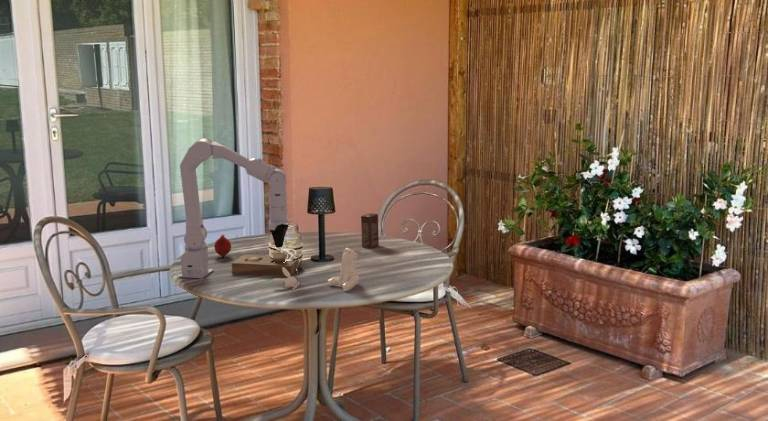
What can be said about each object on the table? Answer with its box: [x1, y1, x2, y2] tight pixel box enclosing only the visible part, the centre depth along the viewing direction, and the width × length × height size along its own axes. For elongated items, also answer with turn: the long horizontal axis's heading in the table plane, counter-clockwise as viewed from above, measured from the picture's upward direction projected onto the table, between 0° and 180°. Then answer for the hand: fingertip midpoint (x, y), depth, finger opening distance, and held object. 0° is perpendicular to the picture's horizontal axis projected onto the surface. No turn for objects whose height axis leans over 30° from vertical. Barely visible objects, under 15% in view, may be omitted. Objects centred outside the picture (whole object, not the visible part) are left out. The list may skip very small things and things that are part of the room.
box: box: [360, 213, 380, 249], centre depth 290 cm, size 6×4×12 cm
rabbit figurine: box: [271, 267, 300, 290], centre depth 240 cm, size 6×4×8 cm
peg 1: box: [247, 257, 260, 262], centre depth 259 cm, size 4×4×3 cm
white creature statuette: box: [327, 247, 360, 292], centre depth 241 cm, size 10×9×12 cm
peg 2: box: [272, 250, 286, 263], centre depth 257 cm, size 4×4×3 cm
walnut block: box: [231, 254, 298, 277], centre depth 259 cm, size 11×20×4 cm, turn 79°
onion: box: [214, 234, 232, 258], centre depth 275 cm, size 6×6×8 cm
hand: (279, 246), depth 257 cm, fingers closed
